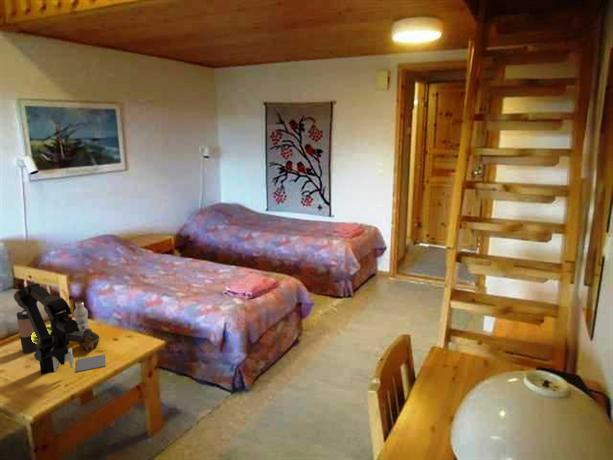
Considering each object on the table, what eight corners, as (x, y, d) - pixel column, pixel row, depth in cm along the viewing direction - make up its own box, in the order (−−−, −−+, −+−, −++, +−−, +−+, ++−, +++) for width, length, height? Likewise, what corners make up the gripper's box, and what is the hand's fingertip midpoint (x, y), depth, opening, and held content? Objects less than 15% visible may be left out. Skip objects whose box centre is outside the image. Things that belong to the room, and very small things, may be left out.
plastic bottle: (77, 337, 232) (73, 301, 227) (91, 335, 233) (87, 299, 229) (75, 343, 225) (70, 305, 221) (89, 341, 227) (85, 304, 223)
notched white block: (54, 371, 188) (52, 356, 187) (55, 366, 193) (53, 351, 191) (72, 368, 191) (70, 353, 190) (73, 362, 196) (71, 348, 194)
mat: (75, 372, 197) (75, 371, 197) (77, 360, 208) (77, 359, 208) (105, 366, 202) (105, 365, 202) (105, 354, 213) (105, 354, 213)
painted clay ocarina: (97, 339, 230) (96, 324, 228) (102, 352, 218) (101, 337, 216) (76, 342, 225) (75, 328, 223) (80, 357, 212) (79, 341, 210)
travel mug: (38, 352, 216) (33, 313, 212) (20, 355, 214) (14, 315, 209) (41, 345, 223) (36, 307, 219) (24, 348, 221) (18, 310, 216)
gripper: (79, 333, 183) (83, 367, 186) (80, 316, 200) (84, 348, 203) (48, 338, 179) (53, 373, 182) (52, 321, 195) (57, 353, 199)
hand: (63, 361), depth 192 cm, fingers closed on notched white block, 5 cm apart
